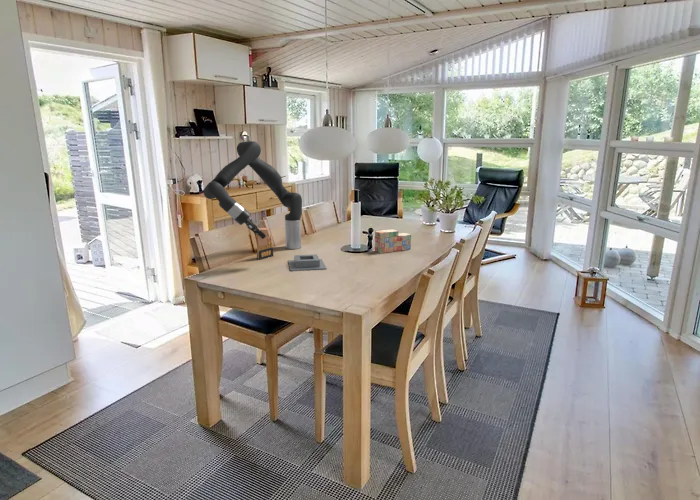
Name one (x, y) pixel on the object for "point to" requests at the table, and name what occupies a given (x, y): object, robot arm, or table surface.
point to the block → (260, 240)
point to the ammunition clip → (265, 250)
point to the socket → (306, 263)
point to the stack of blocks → (391, 241)
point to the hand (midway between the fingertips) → (264, 236)
